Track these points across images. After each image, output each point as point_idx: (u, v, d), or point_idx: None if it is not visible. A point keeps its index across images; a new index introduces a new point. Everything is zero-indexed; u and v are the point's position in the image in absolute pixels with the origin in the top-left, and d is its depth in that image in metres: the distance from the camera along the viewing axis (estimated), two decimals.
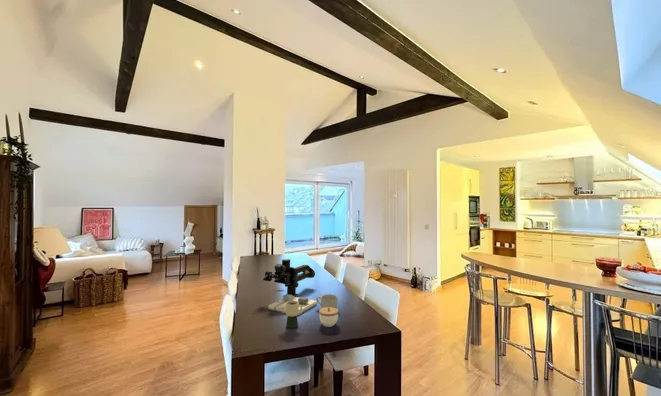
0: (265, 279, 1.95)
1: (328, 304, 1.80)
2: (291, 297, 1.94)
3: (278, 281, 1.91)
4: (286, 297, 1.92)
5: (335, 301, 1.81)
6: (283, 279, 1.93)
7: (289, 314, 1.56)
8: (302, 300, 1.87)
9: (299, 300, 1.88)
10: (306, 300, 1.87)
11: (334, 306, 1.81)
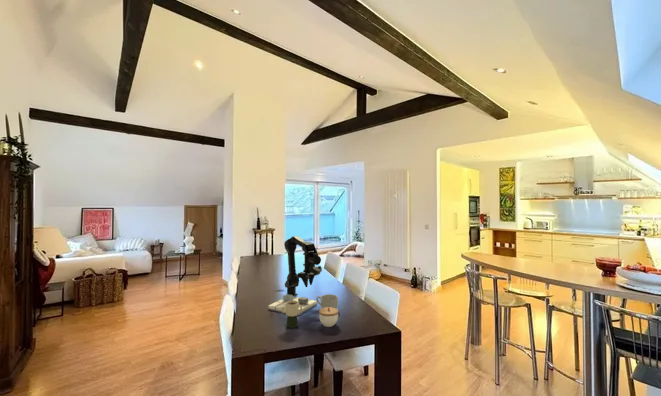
0: None
1: (328, 304, 1.80)
2: (291, 297, 1.94)
3: None
4: (286, 297, 1.92)
5: (335, 301, 1.81)
6: None
7: (289, 314, 1.56)
8: (302, 300, 1.87)
9: (299, 300, 1.88)
10: (306, 300, 1.87)
11: (334, 306, 1.81)
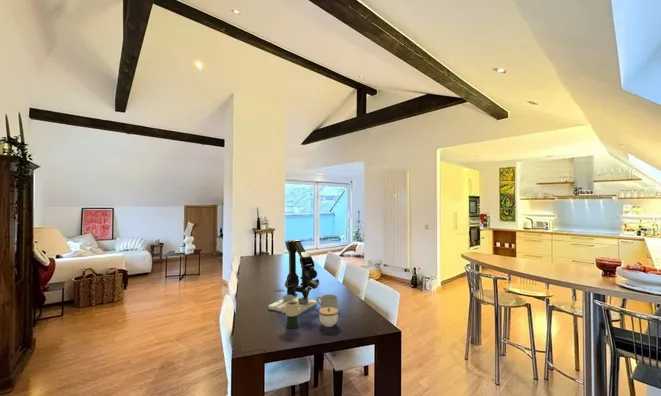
0: None
1: (328, 304, 1.80)
2: (291, 297, 1.94)
3: None
4: (286, 297, 1.92)
5: (335, 301, 1.81)
6: None
7: (289, 314, 1.56)
8: (302, 300, 1.87)
9: (299, 300, 1.88)
10: (306, 300, 1.87)
11: (334, 306, 1.81)
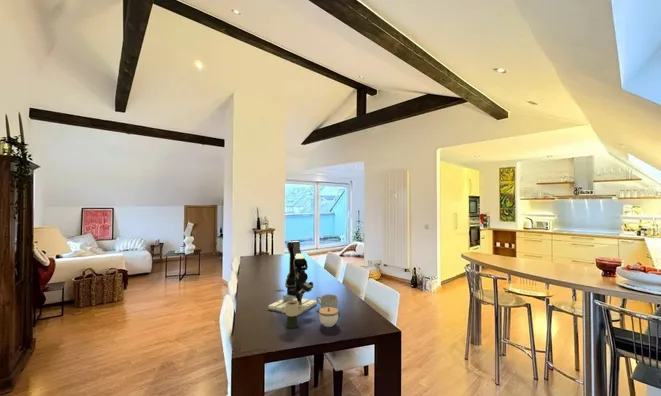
0: None
1: (328, 304, 1.80)
2: (291, 297, 1.94)
3: None
4: (286, 297, 1.92)
5: (335, 301, 1.81)
6: None
7: (289, 314, 1.56)
8: None
9: None
10: (299, 304, 1.81)
11: (334, 306, 1.81)
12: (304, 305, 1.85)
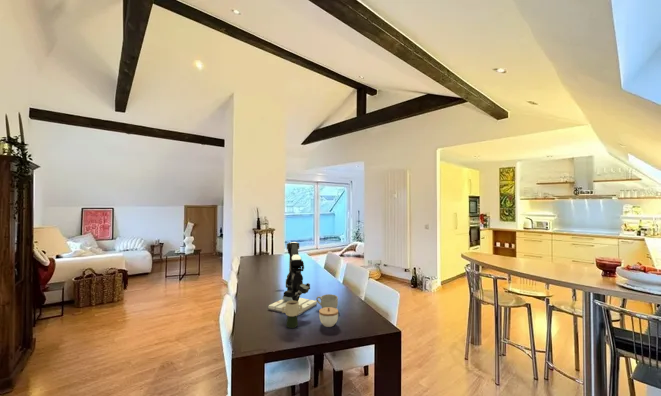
0: None
1: (328, 304, 1.80)
2: None
3: None
4: (286, 297, 1.92)
5: (335, 301, 1.81)
6: None
7: (289, 314, 1.56)
8: None
9: None
10: None
11: (334, 306, 1.81)
12: (304, 305, 1.85)
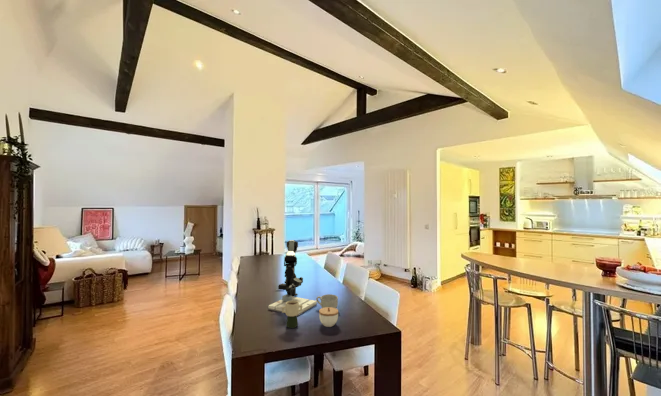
0: None
1: (328, 304, 1.80)
2: (290, 297, 1.93)
3: None
4: (285, 297, 1.92)
5: (335, 301, 1.81)
6: None
7: (289, 314, 1.56)
8: None
9: None
10: None
11: (334, 306, 1.81)
12: (304, 305, 1.85)
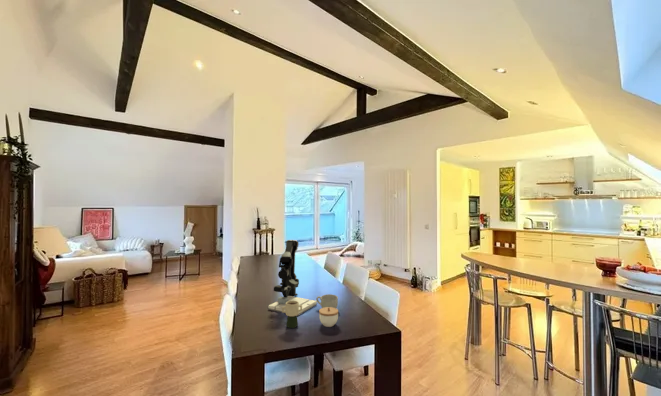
0: None
1: (328, 304, 1.80)
2: (286, 299, 1.89)
3: None
4: (281, 299, 1.87)
5: (335, 301, 1.81)
6: None
7: (289, 314, 1.56)
8: None
9: None
10: None
11: (334, 306, 1.81)
12: (304, 305, 1.85)
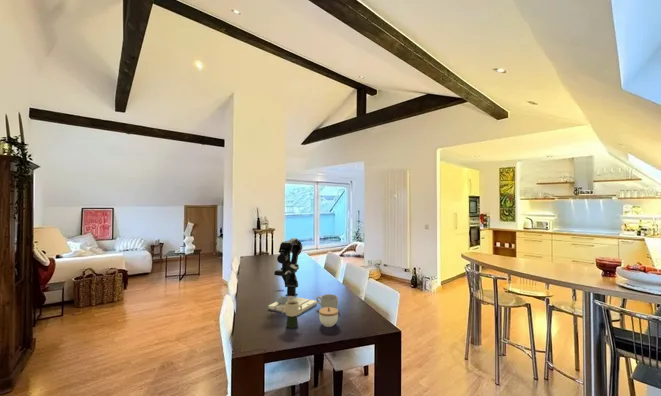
0: None
1: (328, 304, 1.80)
2: (286, 300, 1.89)
3: None
4: (281, 300, 1.87)
5: (335, 301, 1.81)
6: None
7: (289, 314, 1.56)
8: None
9: None
10: None
11: (334, 306, 1.81)
12: (304, 305, 1.85)
